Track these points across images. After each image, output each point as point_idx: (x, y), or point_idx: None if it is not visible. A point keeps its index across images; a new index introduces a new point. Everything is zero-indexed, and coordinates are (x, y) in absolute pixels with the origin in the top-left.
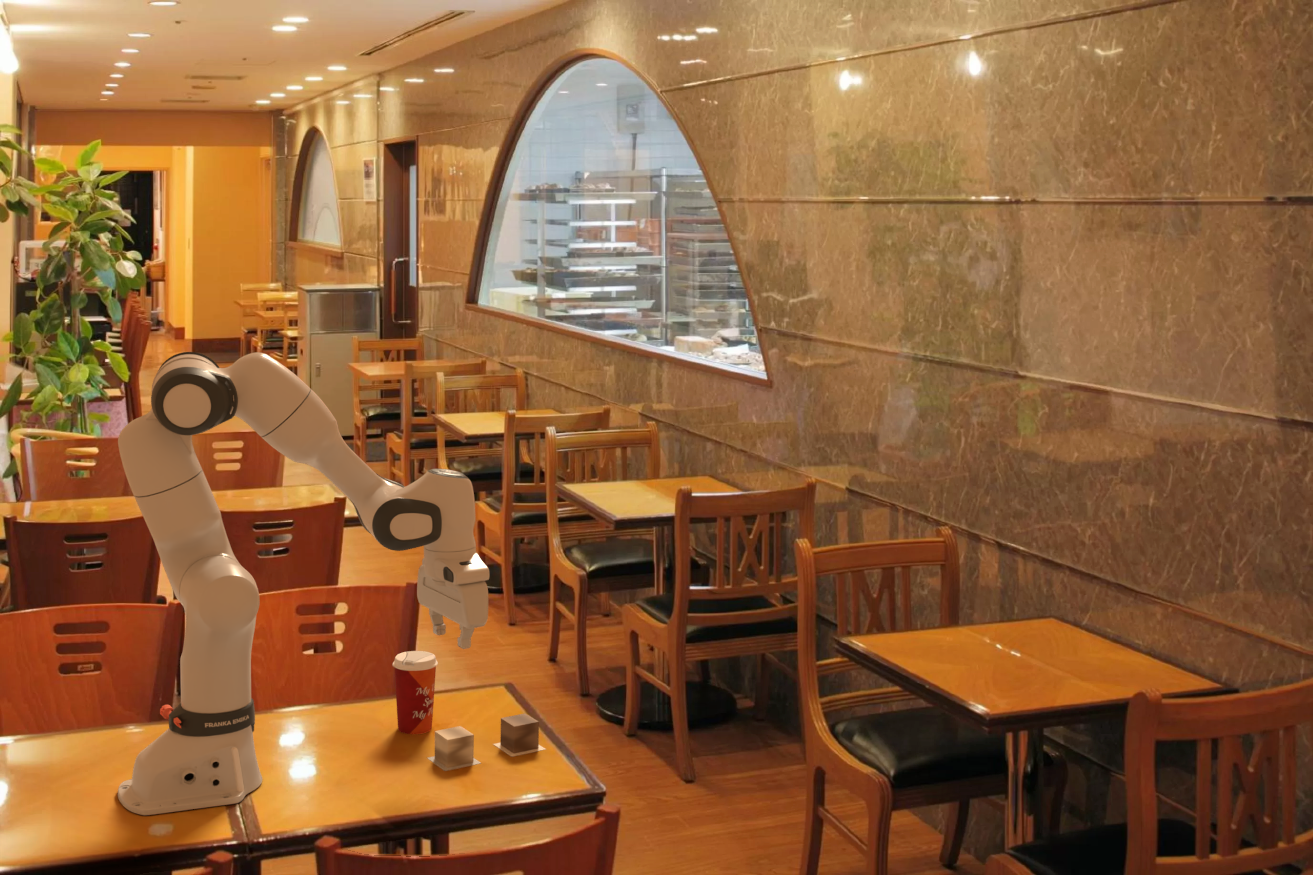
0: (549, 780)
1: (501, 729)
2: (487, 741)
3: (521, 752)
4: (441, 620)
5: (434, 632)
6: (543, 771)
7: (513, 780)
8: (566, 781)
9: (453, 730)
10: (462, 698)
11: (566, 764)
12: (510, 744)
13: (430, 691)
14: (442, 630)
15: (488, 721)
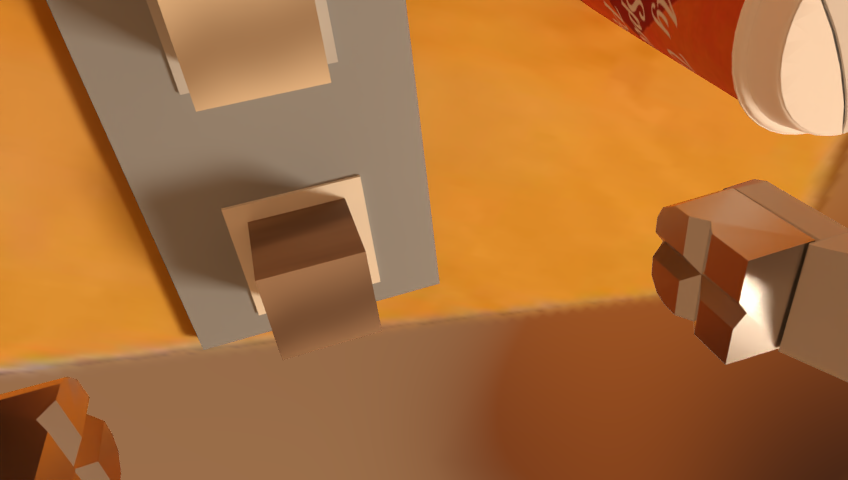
0: (22, 278)
1: (350, 229)
2: (439, 167)
3: (250, 245)
4: (828, 352)
5: (730, 190)
6: (116, 274)
7: (40, 170)
8: (5, 322)
9: (281, 34)
10: (776, 174)
11: (165, 340)
12: (276, 228)
13: (663, 39)
14: (688, 286)
15: (587, 204)
